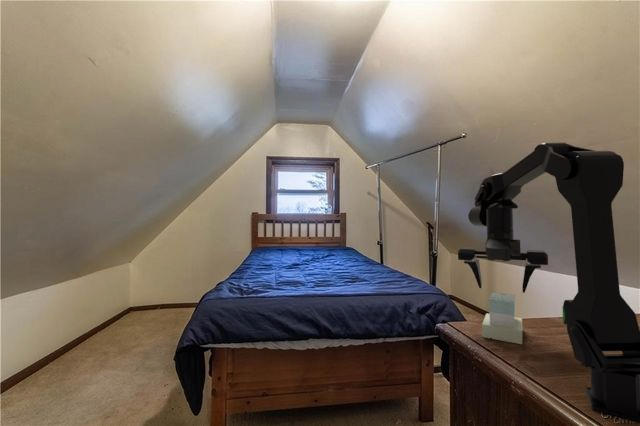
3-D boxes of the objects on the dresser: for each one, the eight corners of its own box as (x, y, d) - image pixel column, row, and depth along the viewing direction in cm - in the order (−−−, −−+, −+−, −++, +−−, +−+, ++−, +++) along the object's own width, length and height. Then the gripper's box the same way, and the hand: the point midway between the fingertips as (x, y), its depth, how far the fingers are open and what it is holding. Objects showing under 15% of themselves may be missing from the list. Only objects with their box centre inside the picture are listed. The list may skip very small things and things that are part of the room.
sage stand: (522, 344, 68) (521, 331, 68) (482, 337, 73) (481, 324, 73) (522, 330, 77) (522, 318, 77) (486, 324, 81) (486, 313, 81)
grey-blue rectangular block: (515, 318, 77) (514, 294, 77) (514, 328, 70) (513, 302, 70) (492, 315, 79) (492, 292, 79) (489, 324, 73) (489, 299, 73)
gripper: (453, 228, 74) (454, 292, 74) (548, 229, 63) (550, 303, 63) (461, 226, 83) (462, 283, 83) (545, 227, 72) (547, 292, 72)
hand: (501, 290), depth 75 cm, fingers open, 9 cm apart
